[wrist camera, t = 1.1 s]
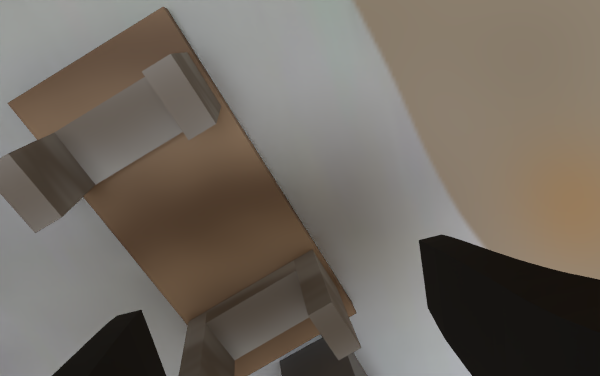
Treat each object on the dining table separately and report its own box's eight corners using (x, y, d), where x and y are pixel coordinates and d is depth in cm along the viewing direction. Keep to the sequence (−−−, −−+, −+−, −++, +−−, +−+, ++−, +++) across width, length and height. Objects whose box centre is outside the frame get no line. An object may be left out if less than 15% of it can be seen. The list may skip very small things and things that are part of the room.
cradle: (351, 301, 23) (384, 377, 18) (234, 369, 23) (233, 462, 18) (167, 8, 18) (137, -8, 12) (19, 100, 18) (-70, 121, 13)
